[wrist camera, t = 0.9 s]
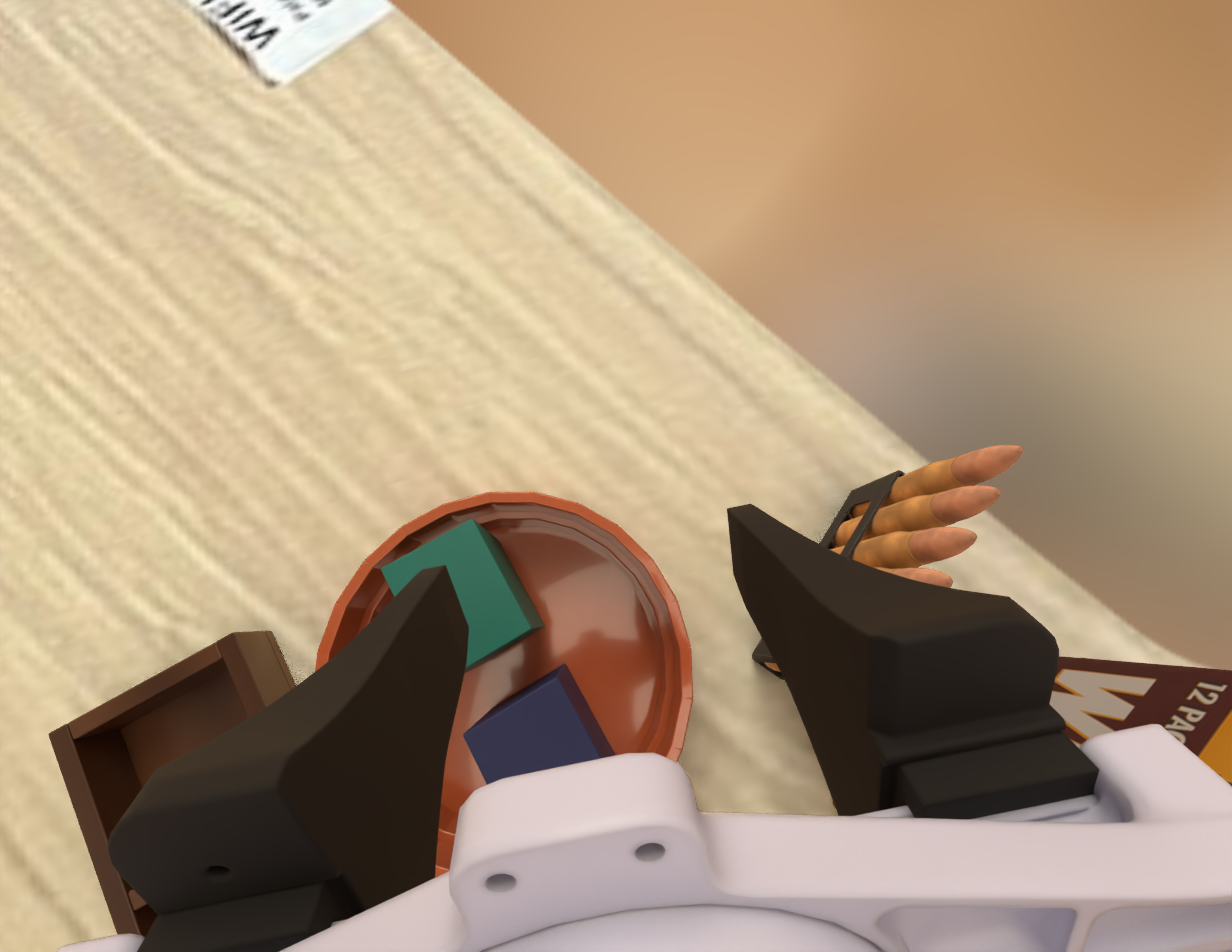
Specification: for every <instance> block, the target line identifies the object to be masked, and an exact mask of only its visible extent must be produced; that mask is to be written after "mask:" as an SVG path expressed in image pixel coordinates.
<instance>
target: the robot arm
mask: <svg viewBox="0 0 1232 952" xmlns="http://www.w3.org/2000/svg"><path fill="white" fill-rule="evenodd" d="M727 513H728V523H729V533H730V543H731V552H732V562H733V572H734V577H735V579H736V582H737V585H738V588H739V590H740V593H741V596H742V598H743V601H744V603H745V606H746V608H747V610H748V612H749V614H750V616H751V618H752V620H753V622H754V623H755V625H756V627H757V629H758V631H759V633H760V635H761V637H762V638H763V640H764V642H765V644H766V646H767V648H768V649H769V651H770V653H771V655H772V657H773V659H774V660H775V662H776V664H777V666H778V668H779V670H780V672H781V673H782V675H783V677H784V679H785V681H786V683H787V685H788V688H789V690H790V692H791V694H792V696H793V699H794V701H795V704H796V706H797V709H798V711H799V714H800V716H801V718H802V721H803V723H804V726H805V728H806V731H807V733H808V736H809V738H810V741H811V744H812V746H813V749H814V751H815V754H816V756H817V759H818V761H819V764H820V767H821V769H822V772H823V775H824V777H825V780H826V783H827V785H828V788H829V791H830V793H831V796H832V799H833V801H834V804H835V807H836V809H837V812H838V815H839V816H832V815H797V814H763V813H728V812H700V811H699V810H698V809H697V805H696V800H695V796H694V792H693V787H692V783H691V780H690V778H689V777H688V775H687V774H686V772H685V770H684V769H683V767H682V766H681V764H680V763H678V762H675V761H673V760H670V759H668V758H666V757H663V756H661V755H659V754H656V753H625V754H620V755H615V756H610V757H606V758H601V759H596V760H591V761H586V762H581V763H576V764H571V765H566V766H561V767H556V768H551V769H546V770H541V771H536V772H531V773H527V774H522V775H517V776H512V777H507V778H502V779H500V780H498V781H495V782H493V783H490V784H488V785H485V786H483V787H480V788H478V789H477V790H475V791H474V792H473V793H472V794H471V795H470V797H469V798H468V799H467V800H466V801H465V803H464V804H463V805H462V806H461V807H460V809H459V815H458V822H457V828H456V834H455V840H454V846H453V852H452V858H451V864H450V871H449V872H447V873H445V874H442V875H440V876H438V877H436V878H435V872H436V856H437V841H438V830H439V819H440V807H441V797H442V788H443V779H444V770H445V762H446V756H447V751H448V745H449V740H450V736H451V731H452V727H453V723H454V718H455V714H456V709H457V705H458V700H459V696H460V692H461V687H462V682H463V678H464V673H465V668H466V663H467V652H468V637H469V626H468V623H467V621H466V618H465V615H464V613H463V610H462V607H461V605H460V602H459V599H458V597H457V594H456V591H455V588H454V586H453V583H452V580H451V578H450V575H449V572H448V570H447V567H446V565H442V566H437V567H432V568H427V569H422V570H421V571H420V572H419V573H417V574H416V575H415V576H414V577H413V578H412V579H411V580H410V581H409V582H408V583H407V585H406V586H405V587H404V588H403V589H402V590H401V591H400V592H399V593H398V594H397V595H396V596H395V597H394V598H393V599H392V600H391V601H390V602H389V604H388V605H387V606H386V607H385V608H384V609H383V610H382V611H381V612H380V613H379V614H378V615H377V616H376V617H375V618H374V619H373V620H372V621H371V622H370V623H369V624H368V625H367V626H366V627H365V628H364V629H363V630H362V631H361V632H360V633H359V634H358V635H357V636H356V637H355V638H353V639H352V640H351V641H350V642H349V643H348V644H347V645H346V646H345V647H344V648H343V649H342V650H341V651H340V652H338V653H337V654H336V655H335V656H334V657H333V658H331V659H330V660H329V661H328V662H327V663H326V664H324V665H323V666H322V667H321V668H319V669H318V670H317V671H316V672H314V673H313V674H312V675H311V676H309V677H308V678H307V679H305V680H304V681H303V682H301V683H300V684H299V685H297V686H296V687H294V688H293V689H292V690H290V691H289V692H287V693H286V694H284V695H283V696H282V697H280V698H279V699H277V700H276V701H275V702H273V703H272V704H270V705H269V706H267V707H266V708H264V709H263V710H261V711H260V712H258V713H256V714H255V715H253V716H252V717H250V718H249V719H247V720H245V721H244V722H242V723H240V724H239V725H237V726H235V727H234V728H232V729H230V730H229V731H227V732H225V733H224V734H222V735H220V736H218V737H217V738H215V739H213V740H211V741H209V742H208V743H206V744H204V745H202V746H200V747H198V748H196V749H194V750H192V751H190V752H188V753H187V754H185V755H183V756H181V757H179V758H177V759H175V760H173V761H171V762H169V763H167V764H165V765H163V766H161V767H159V768H157V769H156V770H155V771H154V773H153V774H152V776H151V777H150V778H149V780H148V781H147V783H146V784H145V785H144V787H143V788H142V790H141V791H140V793H139V794H138V795H137V797H136V798H135V800H134V801H133V802H132V804H131V805H130V807H129V808H128V809H127V811H126V812H125V814H124V815H123V816H122V818H121V819H120V821H119V822H118V823H117V825H116V826H115V828H114V829H113V830H112V832H111V834H110V837H109V841H108V845H107V847H108V852H109V856H110V860H111V863H112V864H113V866H114V867H115V869H116V870H117V872H118V873H119V874H120V876H121V877H122V878H123V879H124V880H125V881H126V882H127V883H128V884H129V885H130V886H131V887H132V888H133V889H134V890H135V892H136V893H137V894H138V895H139V896H140V897H141V898H142V899H143V900H144V901H145V902H146V903H147V904H148V905H149V906H150V907H151V908H152V909H153V910H154V911H155V912H156V914H158V916H157V917H156V919H155V921H154V923H153V924H152V926H151V928H150V930H149V931H148V933H147V935H146V937H143V936H140V935H136V934H118V935H113V936H108V937H103V938H98V939H94V940H89V941H84V942H79V943H74V944H69V945H65V946H63V947H61V948H59V949H57V951H56V952H1232V786H1231V785H1230V784H1229V783H1227V782H1226V781H1225V780H1224V779H1223V778H1222V777H1220V776H1219V775H1218V774H1217V773H1216V772H1215V771H1213V770H1212V769H1211V768H1210V767H1209V766H1208V765H1206V764H1205V763H1204V762H1203V761H1202V760H1201V759H1199V758H1198V757H1197V756H1196V755H1195V754H1194V753H1192V752H1191V751H1190V750H1189V749H1188V748H1187V747H1185V746H1184V745H1183V744H1182V743H1181V742H1180V741H1178V740H1177V739H1176V738H1175V737H1174V736H1173V735H1172V734H1170V733H1169V732H1168V731H1167V730H1166V729H1165V728H1163V727H1162V726H1161V725H1159V724H1149V725H1144V726H1140V727H1135V728H1130V729H1125V730H1120V731H1115V732H1110V733H1105V734H1100V735H1097V736H1094V737H1092V738H1089V739H1088V740H1086V741H1085V742H1084V743H1082V744H1081V745H1080V747H1079V748H1078V747H1077V746H1076V745H1075V744H1074V743H1073V742H1072V741H1071V740H1070V739H1069V738H1068V737H1067V735H1066V734H1065V733H1064V732H1063V731H1062V730H1065V728H1066V723H1065V720H1064V718H1063V717H1062V716H1061V715H1060V714H1059V713H1058V712H1057V711H1056V710H1055V709H1054V708H1053V707H1052V706H1051V705H1050V699H1051V695H1052V690H1053V686H1054V681H1055V677H1056V673H1057V668H1058V660H1059V648H1058V646H1057V643H1056V640H1055V637H1054V636H1053V635H1052V634H1051V633H1050V632H1049V631H1048V630H1047V629H1046V628H1045V627H1044V626H1043V625H1042V624H1041V623H1039V622H1038V621H1037V620H1036V619H1035V618H1034V617H1033V616H1031V615H1030V614H1029V613H1028V612H1027V611H1026V610H1024V609H1023V608H1022V607H1021V606H1020V605H1018V604H1017V603H1016V602H1015V601H1013V600H1012V599H1011V598H1009V597H1006V596H999V595H992V594H985V593H978V592H970V591H963V590H957V589H952V588H948V587H943V586H938V585H933V584H928V583H924V582H920V581H916V580H912V579H909V578H905V577H902V576H899V575H895V574H892V573H888V572H885V571H882V570H879V569H876V568H873V567H870V566H868V565H865V564H863V563H860V562H858V561H855V560H852V559H850V558H847V557H845V556H843V555H841V554H838V553H836V552H834V551H832V550H830V549H828V548H826V547H824V546H822V545H820V544H818V543H816V542H814V541H812V540H810V539H808V538H806V537H805V536H803V535H801V534H799V533H798V532H796V531H794V530H792V529H791V528H789V527H787V526H786V525H784V524H782V523H781V522H779V521H778V520H776V519H774V518H773V517H771V516H770V515H768V514H766V513H765V512H763V511H762V510H760V509H759V508H757V507H755V506H754V505H752V504H748V505H743V506H738V507H733V508H728V509H727Z"/></svg>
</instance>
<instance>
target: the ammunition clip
mask: <svg viewBox="0 0 1232 952" xmlns="http://www.w3.org/2000/svg"><path fill="white" fill-rule="evenodd" d="M1022 453H1023V449H1022V447H1019V446H1014V445H1000V446H992V447H987V448H983V449H980V450H976V451H973V452H970V453H967V454H965V455H962V456H958V457H955V458H953V459H950V460H943V461H938V462H934V463H931V464H928V465H926V466H924V467H922V468H919V469H917V470H915V471H913V472H910V473H908V474H906V475H904V474H905V473H903V472H902V471H899V470H898V471H896V472H894V473H891V474H889V475H887V476H885V477H882V478H880V479H878V480H875V481H873V482H871V483H868V484H866V485H864V486H862V487H859V488H857V489H855V490H852V491H851V493H850V495H849V496H848V498H847V500H846V501H845V503H844V505H843V506H842V508H841V509H840V511H839V513H838V514H837V516H836V518H835V519H834V521H833V523H832V524H831V526H830V528H829V529H828V531H827V532H826V534H825V536H824V537H823V539H822V541H821V542H820V545H822V546H824V547H826V548H828V549H830V550H832V551H834V552H836V553H838V554H841V555H843V556H845V557H847V558H850V559H852V560H855V561H858V562H860V563H863V564H865V565H868V566H870V567H873V568H876V569H879V570H882V571H885V572H888V573H892V574H895V575H899V576H902V577H905V578H909V579H912V580H916V581H920V582H924V583H928V584H933V585H938V586H943V587H948V588H950V587H951V585H952V583H953V580H952V578H951V577H949V576H948V575H946V574H944V573H942V572H939V571H936V570H932V569H925V568H918V567H919V566H921V565H925V564H929V563H932V562H935V561H940V560H944V559H947V558H950V557H953V556H955V555H957V554H959V553H961V552H963V551H965V550H966V549H967V548H969V547H970V546H971V545H972V544H973V543H974V542H975V541H976V539H977V535H976V534H975V533H974V532H972V531H970V530H967V529H963V528H956V527H945V526H948V525H951V524H954V523H955V522H957V521H961V520H964V519H967V518H970V517H972V516H974V515H977V514H979V513H980V512H982V511H984V510H985V509H987V508H988V507H989V506H990V505H992V504H993V503H994V502H995V501H996V500H997V499H998V497H999V496H1000V490H998V489H997V488H994V487H990V486H975V485H977V484H978V483H981V482H984V481H986V480H989V479H991V478H993V477H995V476H997V475H998V474H1000V473H1002V472H1003V471H1005V470H1006V469H1008V468H1009V467H1010V466H1011V465H1012V464H1014V463H1015V462H1016V461H1017V460H1018V459H1019V458H1020V456H1021V455H1022ZM903 475H904V476H903ZM898 477H899V478H898ZM752 659H753V660H755V661H756V662H758V663H759V664H760V665H762V666H763V667H765V668H766V669H767V670H769V671H770V672H772V673H773V674H774V675H776V676H777V677H779V678H780V679H783V680H785V679H784V677H783V675H782V673H781V672H780V670H779V668H778V666H777V664H776V662H775V660H774V659H773V657H772V655H771V653H770V651H769V649H768V648H767V646H766V644H765V642H764V640H763V638H762V639H761V641H760V642H759V644H758V646H757V647H756V649H755V651H754V652H753V654H752Z"/></svg>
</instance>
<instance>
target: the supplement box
mask: <svg viewBox="0 0 1232 952" xmlns="http://www.w3.org/2000/svg"><path fill="white" fill-rule="evenodd" d="M1050 705H1051V706H1052V707H1053V708H1054V709H1055V710H1056V711H1057V712H1058V713H1059V714H1060V715H1061V716H1062V717H1063V718H1064V720H1065V723H1066V728H1065V730H1062V731H1063V732H1064V733H1065V734H1066V735H1067V737H1068V738H1069V739H1070V740H1071V741H1072V742H1073V743H1074V744H1075V745H1076V746H1077V747H1078V748H1079V747H1080V745H1081V744H1082V743H1084V742H1085V741H1086V740H1088V739H1089V738H1092V737H1094V736H1097V735H1100V734H1105V733H1110V732H1115V731H1120V730H1125V729H1130V728H1135V727H1140V726H1144V725H1149V724H1159V725H1161V726H1162V727H1163V728H1165V729H1166V730H1167V731H1168V732H1169V733H1170V734H1172V735H1173V736H1174V737H1175V738H1176V739H1177V740H1178V741H1180V742H1181V743H1182V744H1183V745H1184V746H1185V747H1187V748H1188V749H1189V750H1190V751H1191V752H1192V753H1194V754H1195V755H1196V756H1197V757H1198V758H1199V759H1201V760H1202V761H1203V762H1204V763H1205V764H1206V765H1208V766H1209V767H1210V768H1211V769H1212V770H1213V771H1215V772H1216V773H1217V774H1218V775H1219V776H1220V777H1222V778H1223V779H1224V780H1225V781H1226V782H1227V783H1229V784H1230V785H1231V786H1232V671H1230V670H1219V669H1208V668H1197V667H1184V666H1171V665H1159V664H1146V663H1134V662H1122V661H1110V660H1098V659H1087V658H1072V657H1059V660H1058V668H1057V673H1056V677H1055V681H1054V686H1053V690H1052V695H1051V699H1050ZM833 805H834V807H835V804H834V801H833ZM835 808H836V807H835Z"/></svg>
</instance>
